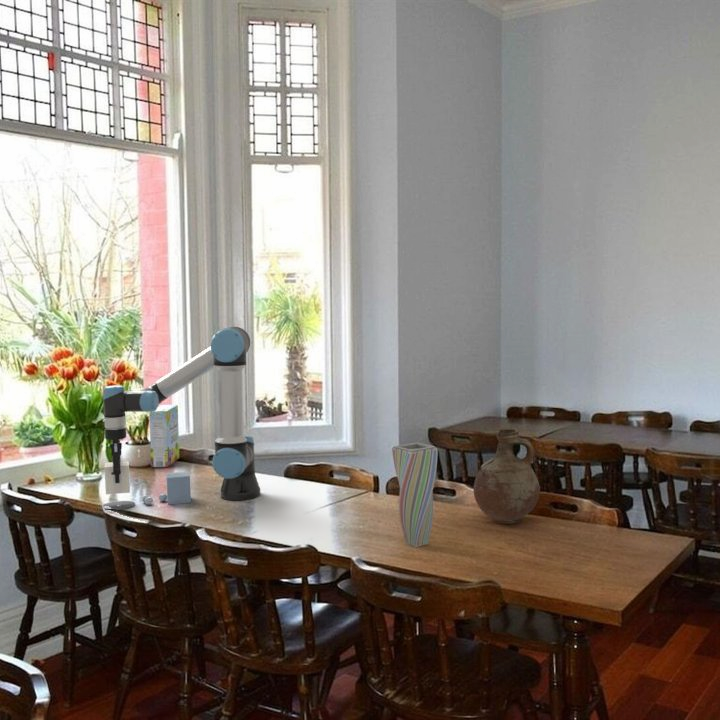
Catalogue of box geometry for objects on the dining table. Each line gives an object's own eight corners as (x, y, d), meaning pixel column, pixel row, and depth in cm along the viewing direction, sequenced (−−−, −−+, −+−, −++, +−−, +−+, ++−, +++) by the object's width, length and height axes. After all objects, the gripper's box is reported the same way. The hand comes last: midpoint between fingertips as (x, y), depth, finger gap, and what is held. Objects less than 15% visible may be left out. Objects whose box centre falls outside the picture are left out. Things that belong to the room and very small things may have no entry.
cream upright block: (129, 487, 322) (128, 461, 321) (129, 492, 314) (128, 465, 313) (106, 489, 320) (105, 462, 319) (105, 494, 312) (104, 467, 311)
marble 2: (154, 504, 319) (154, 496, 319) (149, 506, 316) (149, 498, 316) (148, 503, 320) (148, 495, 320) (143, 505, 318) (142, 497, 317)
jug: (475, 511, 296) (473, 425, 294) (539, 512, 292) (538, 425, 290) (472, 528, 275) (471, 436, 272) (541, 530, 271) (540, 436, 269)
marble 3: (156, 499, 323) (162, 503, 323) (158, 497, 320) (164, 502, 321) (160, 493, 324) (167, 497, 325) (163, 491, 322) (169, 495, 322)
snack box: (169, 467, 383) (167, 410, 381) (150, 468, 383) (147, 411, 381) (181, 457, 405) (178, 403, 402) (162, 458, 405) (159, 404, 402)
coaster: (141, 503, 320) (141, 502, 320) (120, 511, 310) (120, 509, 310) (118, 501, 325) (118, 499, 325) (97, 508, 315) (97, 507, 315)
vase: (414, 553, 252) (411, 452, 249) (385, 543, 263) (383, 446, 260) (448, 544, 260) (446, 446, 257) (419, 534, 271) (417, 440, 268)
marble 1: (148, 504, 322) (153, 498, 322) (144, 505, 319) (148, 499, 319) (143, 498, 323) (148, 492, 322) (139, 499, 320) (143, 493, 320)
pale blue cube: (189, 497, 328) (188, 471, 327) (191, 502, 320) (189, 476, 319) (167, 499, 326) (165, 473, 325) (167, 504, 318) (166, 478, 317)
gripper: (105, 424, 324) (108, 483, 326) (103, 433, 304) (106, 496, 306) (126, 422, 326) (128, 481, 328) (125, 431, 305) (128, 494, 307)
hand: (118, 488), depth 317 cm, fingers closed on cream upright block, 8 cm apart
